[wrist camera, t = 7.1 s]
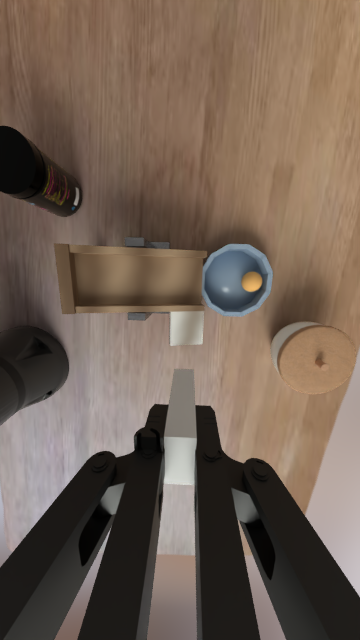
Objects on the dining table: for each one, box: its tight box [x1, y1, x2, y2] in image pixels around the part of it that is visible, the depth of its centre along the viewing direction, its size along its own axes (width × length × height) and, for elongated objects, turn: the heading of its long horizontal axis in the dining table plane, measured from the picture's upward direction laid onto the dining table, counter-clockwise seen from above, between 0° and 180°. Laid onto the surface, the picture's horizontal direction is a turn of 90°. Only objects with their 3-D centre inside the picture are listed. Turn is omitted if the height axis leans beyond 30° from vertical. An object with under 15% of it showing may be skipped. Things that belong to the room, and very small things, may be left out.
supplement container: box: [0, 126, 82, 217], centre depth 28 cm, size 7×7×10 cm
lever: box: [54, 244, 207, 346], centre depth 27 cm, size 18×14×3 cm
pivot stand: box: [125, 237, 170, 320], centre depth 30 cm, size 7×12×9 cm, turn 179°
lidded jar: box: [270, 322, 356, 394], centre depth 32 cm, size 11×11×9 cm
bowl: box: [202, 244, 273, 316], centre depth 33 cm, size 11×11×4 cm
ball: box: [241, 272, 262, 292], centre depth 32 cm, size 3×3×3 cm
